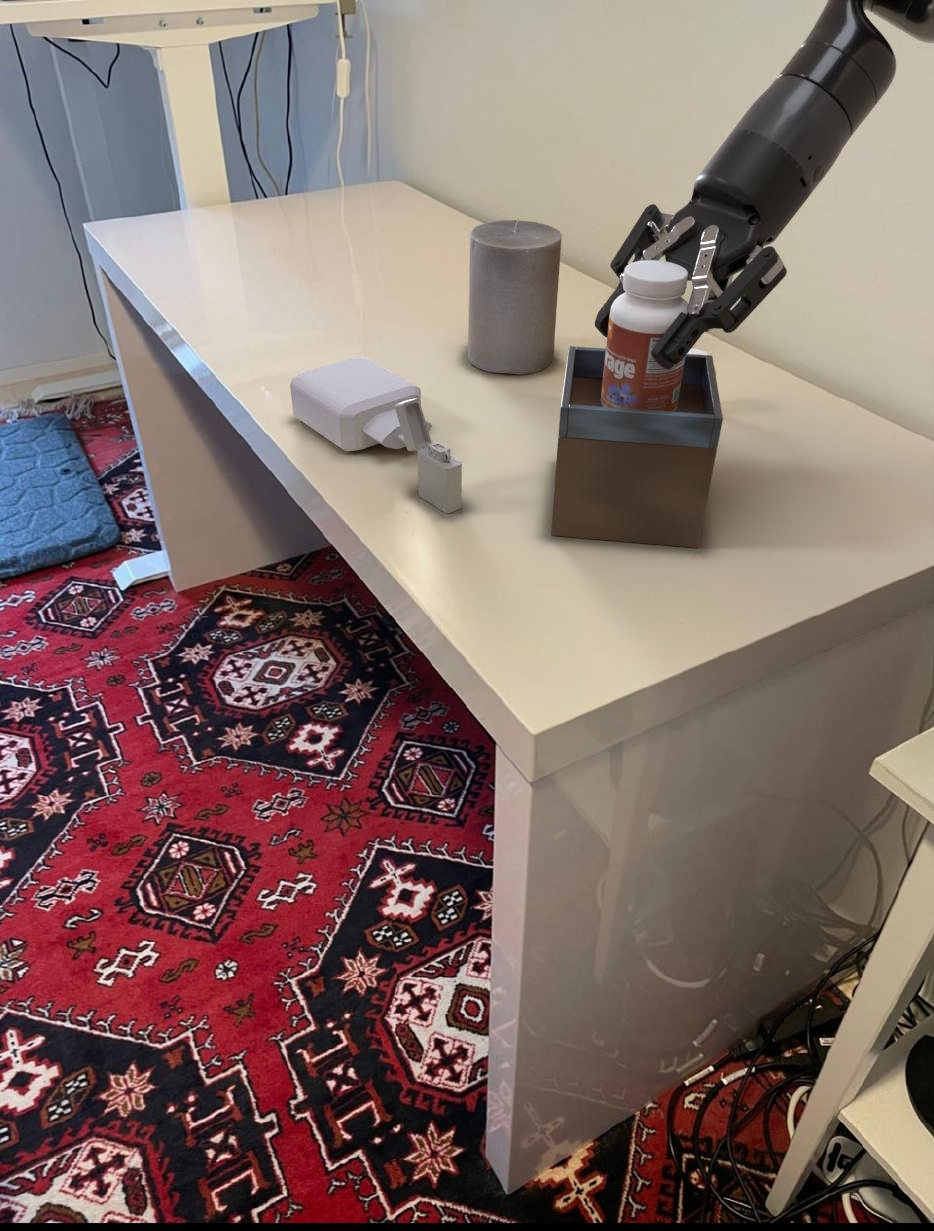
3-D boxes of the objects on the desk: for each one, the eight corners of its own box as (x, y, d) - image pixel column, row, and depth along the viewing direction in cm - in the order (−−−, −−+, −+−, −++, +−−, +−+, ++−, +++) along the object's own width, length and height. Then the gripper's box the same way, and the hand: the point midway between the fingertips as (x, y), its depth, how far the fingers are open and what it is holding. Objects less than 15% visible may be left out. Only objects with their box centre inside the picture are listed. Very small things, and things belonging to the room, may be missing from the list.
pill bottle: (587, 397, 79) (599, 260, 72) (653, 387, 80) (672, 253, 74) (620, 430, 74) (637, 287, 67) (690, 419, 76) (714, 278, 69)
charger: (380, 481, 85) (293, 421, 94) (460, 451, 90) (370, 397, 99) (378, 433, 82) (288, 376, 92) (461, 405, 87) (368, 353, 96)
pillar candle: (516, 335, 113) (523, 202, 104) (571, 363, 107) (582, 223, 98) (449, 354, 108) (450, 216, 99) (502, 383, 102) (508, 239, 93)
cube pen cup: (691, 476, 87) (712, 355, 80) (698, 548, 77) (723, 418, 70) (559, 465, 88) (569, 345, 81) (550, 535, 79) (560, 406, 72)
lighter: (462, 507, 82) (463, 422, 77) (447, 514, 81) (447, 428, 76) (412, 475, 86) (410, 393, 81) (396, 481, 85) (393, 398, 80)
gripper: (684, 109, 73) (548, 291, 75) (831, 146, 63) (671, 353, 66) (722, 175, 78) (595, 343, 81) (863, 218, 69) (715, 407, 71)
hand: (630, 346), depth 73 cm, fingers closed on pill bottle, 6 cm apart
